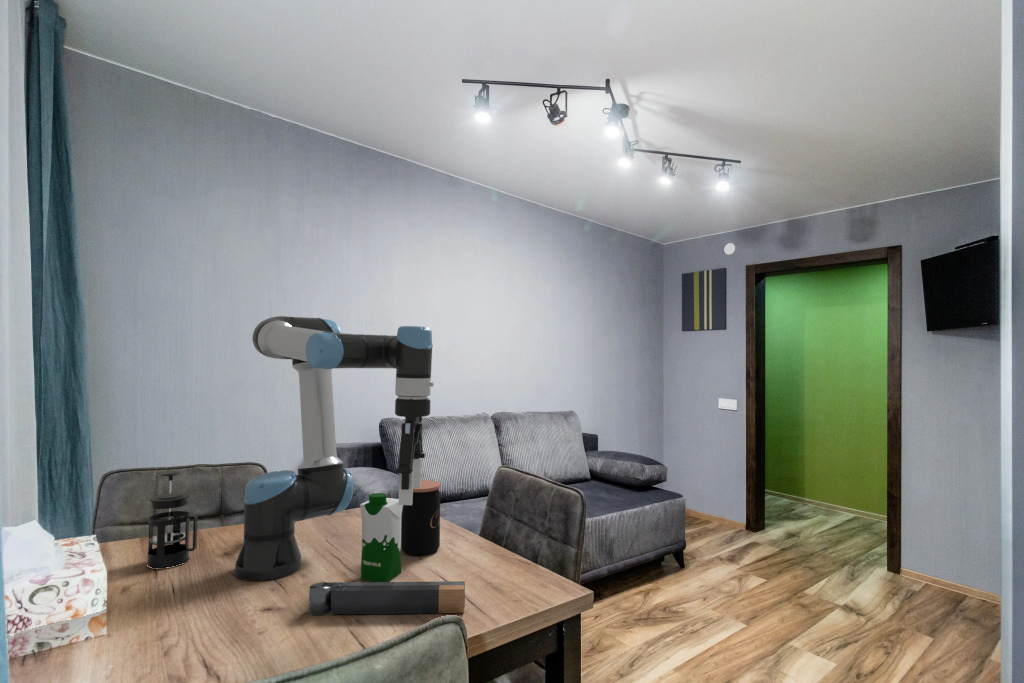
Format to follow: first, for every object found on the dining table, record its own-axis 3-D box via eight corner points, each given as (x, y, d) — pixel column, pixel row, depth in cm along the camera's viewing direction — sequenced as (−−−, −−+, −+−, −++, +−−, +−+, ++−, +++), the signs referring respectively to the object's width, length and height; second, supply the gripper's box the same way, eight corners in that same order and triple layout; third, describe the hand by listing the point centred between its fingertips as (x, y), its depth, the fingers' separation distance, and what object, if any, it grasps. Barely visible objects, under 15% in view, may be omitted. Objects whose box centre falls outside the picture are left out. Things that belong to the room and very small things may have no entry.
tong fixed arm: (306, 615, 110) (306, 591, 110) (313, 606, 115) (313, 582, 115) (463, 614, 111) (464, 589, 112) (464, 604, 116) (465, 580, 116)
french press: (135, 570, 133) (138, 477, 134) (154, 557, 142) (157, 469, 143) (187, 568, 135) (189, 475, 136) (202, 554, 144) (204, 468, 145)
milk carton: (354, 580, 128) (356, 495, 129) (376, 567, 136) (377, 487, 137) (387, 586, 125) (388, 499, 126) (406, 571, 134) (408, 490, 134)
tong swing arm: (331, 614, 110) (332, 590, 110) (334, 609, 112) (334, 586, 113) (463, 612, 111) (464, 589, 112) (464, 608, 113) (464, 585, 114)
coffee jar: (436, 557, 144) (437, 489, 144) (396, 556, 144) (397, 488, 144) (442, 543, 154) (443, 480, 155) (405, 543, 154) (406, 480, 155)
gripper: (423, 403, 105) (420, 513, 104) (436, 393, 130) (433, 481, 129) (384, 402, 104) (381, 512, 104) (404, 392, 129) (402, 481, 129)
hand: (410, 495), depth 117 cm, fingers open, 13 cm apart
